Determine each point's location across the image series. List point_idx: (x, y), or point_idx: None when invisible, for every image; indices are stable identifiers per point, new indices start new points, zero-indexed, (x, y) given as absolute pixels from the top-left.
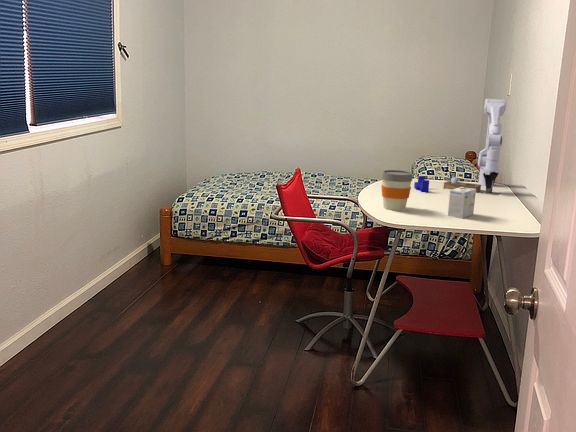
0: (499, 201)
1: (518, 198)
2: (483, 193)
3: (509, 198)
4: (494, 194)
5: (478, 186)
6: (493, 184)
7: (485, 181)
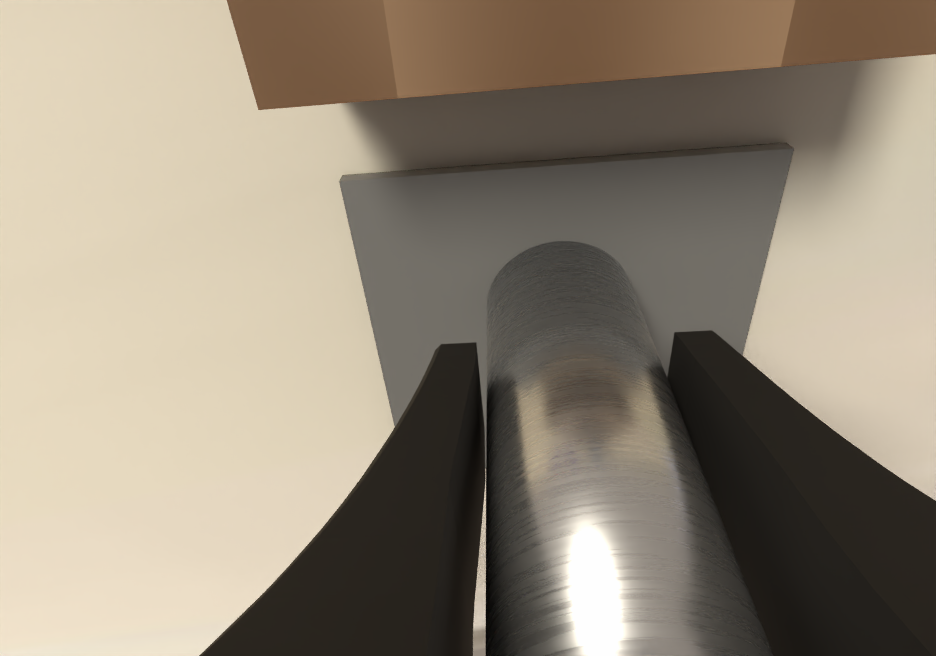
0: (38, 555)
1: (480, 633)
2: (361, 252)
3: None
4: None
5: (524, 83)
6: None
7: (357, 487)
